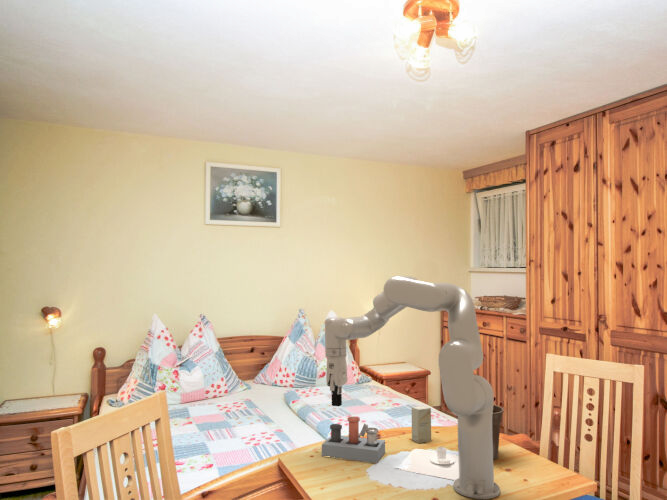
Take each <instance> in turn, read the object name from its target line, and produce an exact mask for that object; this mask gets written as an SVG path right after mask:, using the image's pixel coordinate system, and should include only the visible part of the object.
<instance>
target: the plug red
mask: <svg viewBox="0 0 667 500" xmlns="http://www.w3.org/2000/svg"><path fill="white" fill-rule="evenodd" d="M360 421H361V419H360V417H359V416H348V417H347V422H348V434H349V443H352V444H356V443H359V434H360V431H359V428H360V427H359V422H360Z"/></svg>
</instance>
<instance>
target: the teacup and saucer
mask: <svg viewBox="0 0 667 500" xmlns="http://www.w3.org/2000/svg"><path fill="white" fill-rule="evenodd" d="M435 452H436V454H435V455H432V456H430V457H429V461H430V462H432V463H433V464H436V465H444V466H445V465H452V464H453V463H454V462H455V461H456V460H455V459H454V458H453V457H452V456H449V455H447V454H448V453H447V448H446V447H444V446H437V447H436V451H435Z"/></svg>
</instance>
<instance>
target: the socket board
mask: <svg viewBox="0 0 667 500" xmlns="http://www.w3.org/2000/svg"><path fill="white" fill-rule="evenodd" d="M385 453H386V440H385V439H378V438H377V447H372V446H367V437H366V438H365V437H360V438H359V443H356V444H352V443H349V436H348V435H341V442H340V443H336V442H331V435H330V436H329V437H328V438H327V439H326V440H325V441H324V442H322V443H321V457H323V456H330V457H329V458H331V457H335V458H334V459H339V458H342V459H341V460H348V461H357V462H365V463H374V464H379V462H380V461H381V459H382V457H383V456H384V455H385Z"/></svg>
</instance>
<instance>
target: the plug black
mask: <svg viewBox="0 0 667 500" xmlns="http://www.w3.org/2000/svg"><path fill="white" fill-rule="evenodd" d="M329 429H330V431H331V432H330V436H331V442H336V443H340V442H341V436H342V429H343V425H342V424H340V423H332V424H330V425H329Z"/></svg>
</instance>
